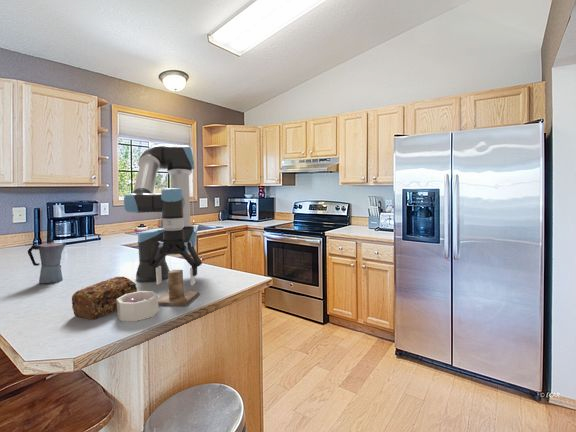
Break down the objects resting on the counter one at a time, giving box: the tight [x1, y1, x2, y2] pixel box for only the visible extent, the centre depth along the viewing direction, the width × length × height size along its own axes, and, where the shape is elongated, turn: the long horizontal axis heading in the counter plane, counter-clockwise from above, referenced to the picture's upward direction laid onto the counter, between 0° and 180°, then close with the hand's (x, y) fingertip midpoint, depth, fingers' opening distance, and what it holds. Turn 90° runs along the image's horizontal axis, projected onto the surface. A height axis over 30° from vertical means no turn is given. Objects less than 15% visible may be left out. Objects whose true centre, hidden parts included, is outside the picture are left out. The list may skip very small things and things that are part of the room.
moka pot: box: [27, 238, 67, 284], centre depth 148 cm, size 10×15×20 cm, turn 155°
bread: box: [71, 276, 138, 321], centre depth 114 cm, size 19×11×10 cm, turn 157°
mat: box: [158, 292, 201, 307], centre depth 123 cm, size 14×13×1 cm
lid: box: [158, 269, 200, 305], centre depth 123 cm, size 13×13×11 cm
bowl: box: [116, 290, 160, 322], centre depth 109 cm, size 12×12×6 cm
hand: (176, 283), depth 123 cm, fingers open, 13 cm apart
